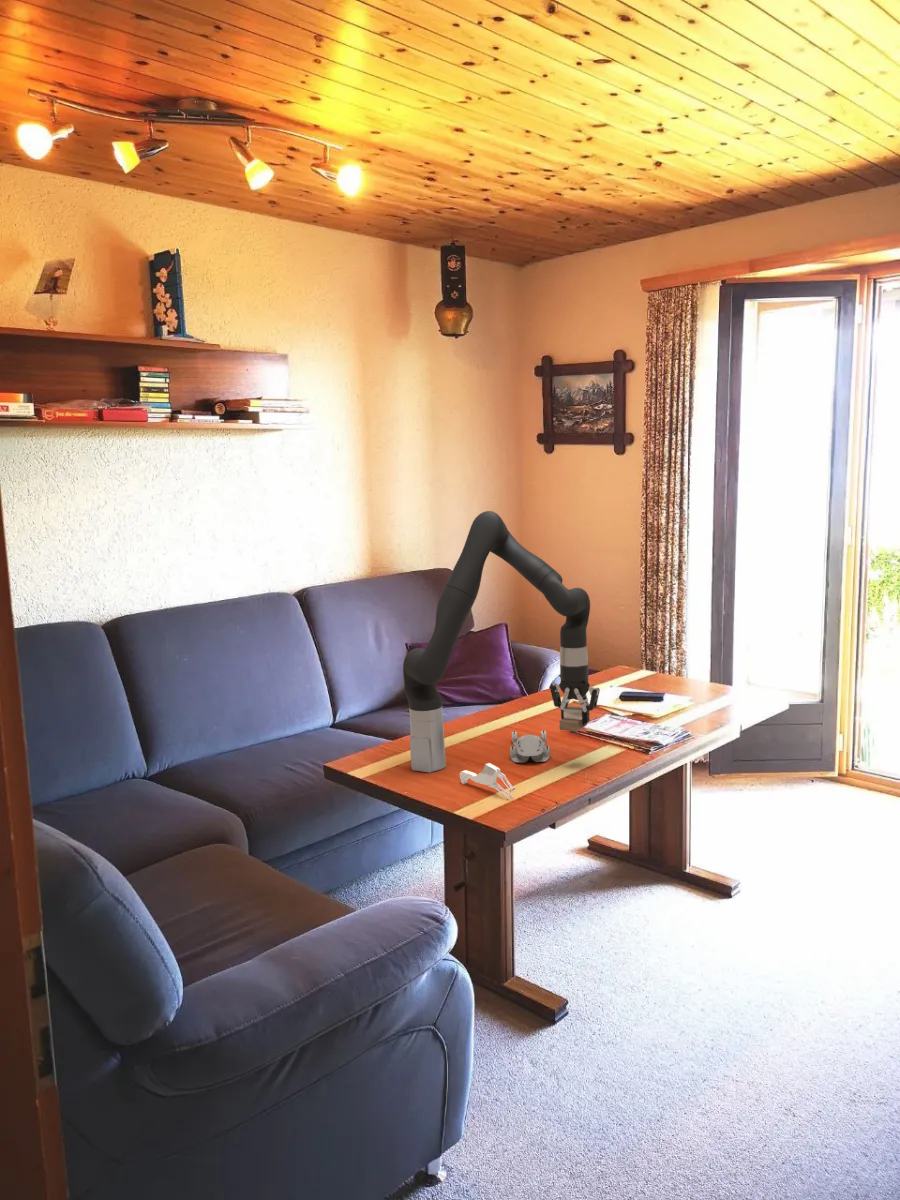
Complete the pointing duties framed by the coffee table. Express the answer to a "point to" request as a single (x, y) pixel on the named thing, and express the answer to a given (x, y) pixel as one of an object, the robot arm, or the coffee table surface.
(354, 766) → the coffee table surface
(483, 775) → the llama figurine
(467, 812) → the coffee table surface
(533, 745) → the car model
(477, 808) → the coffee table surface
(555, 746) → the coffee table surface
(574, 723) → the chock
